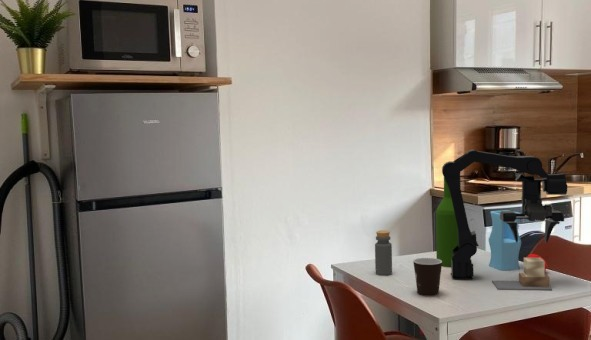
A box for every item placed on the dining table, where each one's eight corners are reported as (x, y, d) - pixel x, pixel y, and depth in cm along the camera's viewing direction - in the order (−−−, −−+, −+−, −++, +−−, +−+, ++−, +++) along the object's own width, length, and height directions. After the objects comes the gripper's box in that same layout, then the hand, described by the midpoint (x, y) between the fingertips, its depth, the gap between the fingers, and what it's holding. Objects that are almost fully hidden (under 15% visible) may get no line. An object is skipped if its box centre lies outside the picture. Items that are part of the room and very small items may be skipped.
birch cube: (527, 277, 173) (527, 261, 173) (523, 272, 178) (523, 257, 178) (544, 277, 172) (544, 261, 172) (540, 272, 177) (540, 257, 177)
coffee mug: (437, 298, 165) (436, 265, 165) (409, 294, 170) (409, 262, 169) (448, 288, 175) (448, 257, 174) (422, 285, 180) (421, 254, 179)
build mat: (497, 289, 172) (497, 288, 172) (492, 281, 181) (492, 280, 181) (552, 290, 170) (552, 289, 170) (543, 282, 179) (543, 281, 179)
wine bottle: (464, 266, 201) (463, 177, 199) (439, 267, 201) (438, 178, 199) (457, 261, 210) (456, 175, 207) (434, 261, 210) (432, 176, 208)
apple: (553, 258, 187) (536, 246, 194) (537, 264, 185) (520, 251, 192) (551, 274, 190) (534, 262, 197) (534, 280, 189) (519, 267, 195)
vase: (501, 270, 194) (501, 214, 192) (488, 265, 202) (488, 211, 200) (521, 268, 196) (521, 213, 194) (507, 263, 203) (507, 209, 202)
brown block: (522, 286, 173) (522, 276, 173) (518, 282, 178) (518, 272, 178) (549, 286, 172) (549, 277, 172) (545, 282, 177) (545, 273, 177)
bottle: (373, 275, 194) (372, 232, 193) (377, 270, 199) (376, 229, 198) (390, 276, 192) (389, 233, 190) (393, 271, 197) (393, 230, 196)
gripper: (507, 198, 173) (507, 247, 175) (570, 197, 171) (570, 247, 172) (499, 194, 184) (499, 240, 186) (558, 193, 182) (558, 240, 183)
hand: (531, 242), depth 181 cm, fingers open, 9 cm apart
